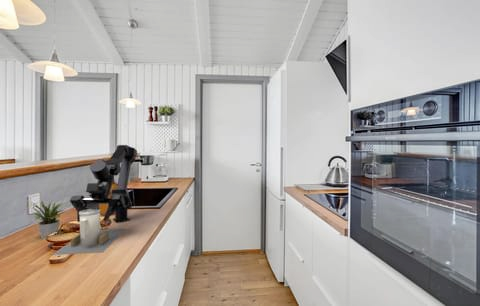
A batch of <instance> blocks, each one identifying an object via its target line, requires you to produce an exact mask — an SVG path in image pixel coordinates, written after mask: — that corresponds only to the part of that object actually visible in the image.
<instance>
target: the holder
mask: <svg viewBox="0 0 480 306" xmlns="http://www.w3.org/2000/svg"><path fill="white" fill-rule="evenodd" d="M100 230H101V232H100V237H99V243H98V244H96V245H93V246H87V247H84V246H81V245H80V232H79V233H77V234H76V235H74V236H73V237H71V238H70V242H71V243H70V242H68V243H67V244H65V245H64V246H62V247H61V248H59V249H58V250H57V251H55V252H54V253H52V254H51V256H56V255H57V256H59V255H60V256H62V255H79V254H80V255H81V254H101V253H104V252H105V251H106V250H107V249H108V248H109V247H110V246H111V245H113V244H114V242H115V241H116V240H117V239H118V238H119V237H120V236H121V235H122V234H123V233H124V232H125V231H126V230H127V228H105V229H100Z"/></svg>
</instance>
